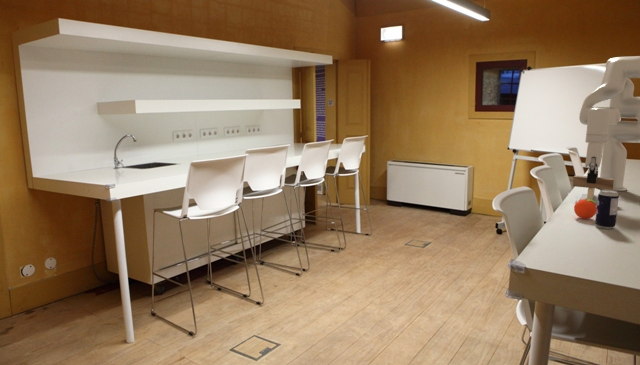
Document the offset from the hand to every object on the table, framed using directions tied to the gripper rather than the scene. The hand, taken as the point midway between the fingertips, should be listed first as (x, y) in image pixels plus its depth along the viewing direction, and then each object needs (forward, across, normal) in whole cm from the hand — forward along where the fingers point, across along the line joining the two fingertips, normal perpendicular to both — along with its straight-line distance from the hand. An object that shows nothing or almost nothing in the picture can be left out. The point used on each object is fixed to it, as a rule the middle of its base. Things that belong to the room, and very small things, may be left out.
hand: (591, 181), depth 187 cm
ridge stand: (+8, -2, 0) cm, 9 cm away
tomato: (+9, +33, +1) cm, 34 cm away
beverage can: (+9, +42, +7) cm, 43 cm away
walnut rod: (+2, 0, 0) cm, 2 cm away
